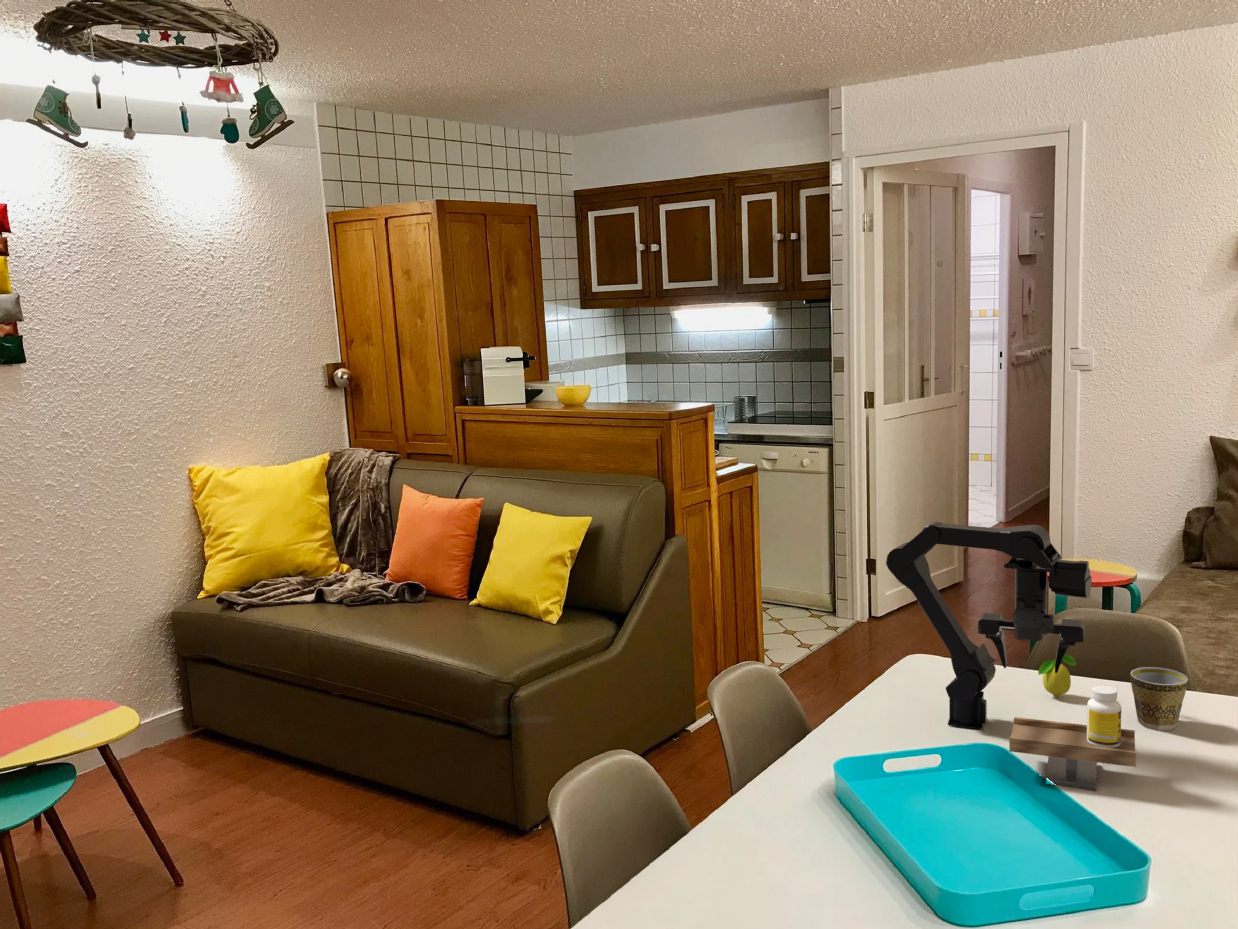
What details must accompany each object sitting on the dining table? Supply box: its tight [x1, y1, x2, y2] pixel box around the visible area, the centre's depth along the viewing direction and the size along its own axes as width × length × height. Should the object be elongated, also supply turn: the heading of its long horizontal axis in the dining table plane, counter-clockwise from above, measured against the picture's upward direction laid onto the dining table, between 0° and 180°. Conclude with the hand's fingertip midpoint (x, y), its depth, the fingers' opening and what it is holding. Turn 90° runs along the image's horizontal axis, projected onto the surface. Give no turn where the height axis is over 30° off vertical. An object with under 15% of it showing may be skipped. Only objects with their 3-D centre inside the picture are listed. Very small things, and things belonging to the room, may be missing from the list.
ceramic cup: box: [1129, 666, 1189, 732], centre depth 202 cm, size 13×10×10 cm
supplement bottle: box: [1086, 685, 1122, 748], centre depth 179 cm, size 5×5×10 cm
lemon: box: [1037, 651, 1077, 698], centre depth 217 cm, size 7×6×10 cm
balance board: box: [1008, 716, 1137, 768], centre depth 182 cm, size 20×10×2 cm, turn 65°
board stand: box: [1045, 756, 1098, 792], centre depth 182 cm, size 8×11×4 cm
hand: (1030, 670), depth 198 cm, fingers open, 9 cm apart
